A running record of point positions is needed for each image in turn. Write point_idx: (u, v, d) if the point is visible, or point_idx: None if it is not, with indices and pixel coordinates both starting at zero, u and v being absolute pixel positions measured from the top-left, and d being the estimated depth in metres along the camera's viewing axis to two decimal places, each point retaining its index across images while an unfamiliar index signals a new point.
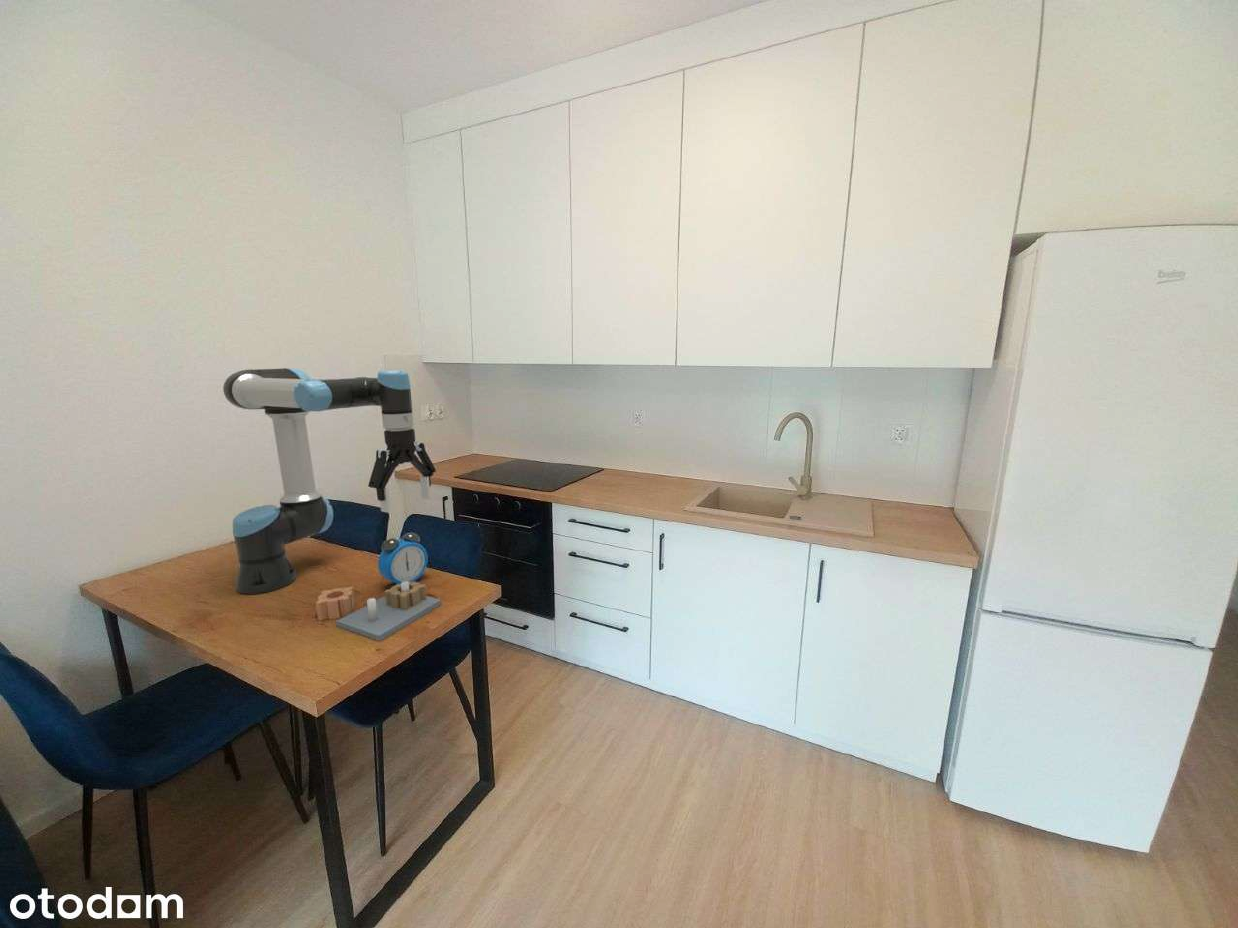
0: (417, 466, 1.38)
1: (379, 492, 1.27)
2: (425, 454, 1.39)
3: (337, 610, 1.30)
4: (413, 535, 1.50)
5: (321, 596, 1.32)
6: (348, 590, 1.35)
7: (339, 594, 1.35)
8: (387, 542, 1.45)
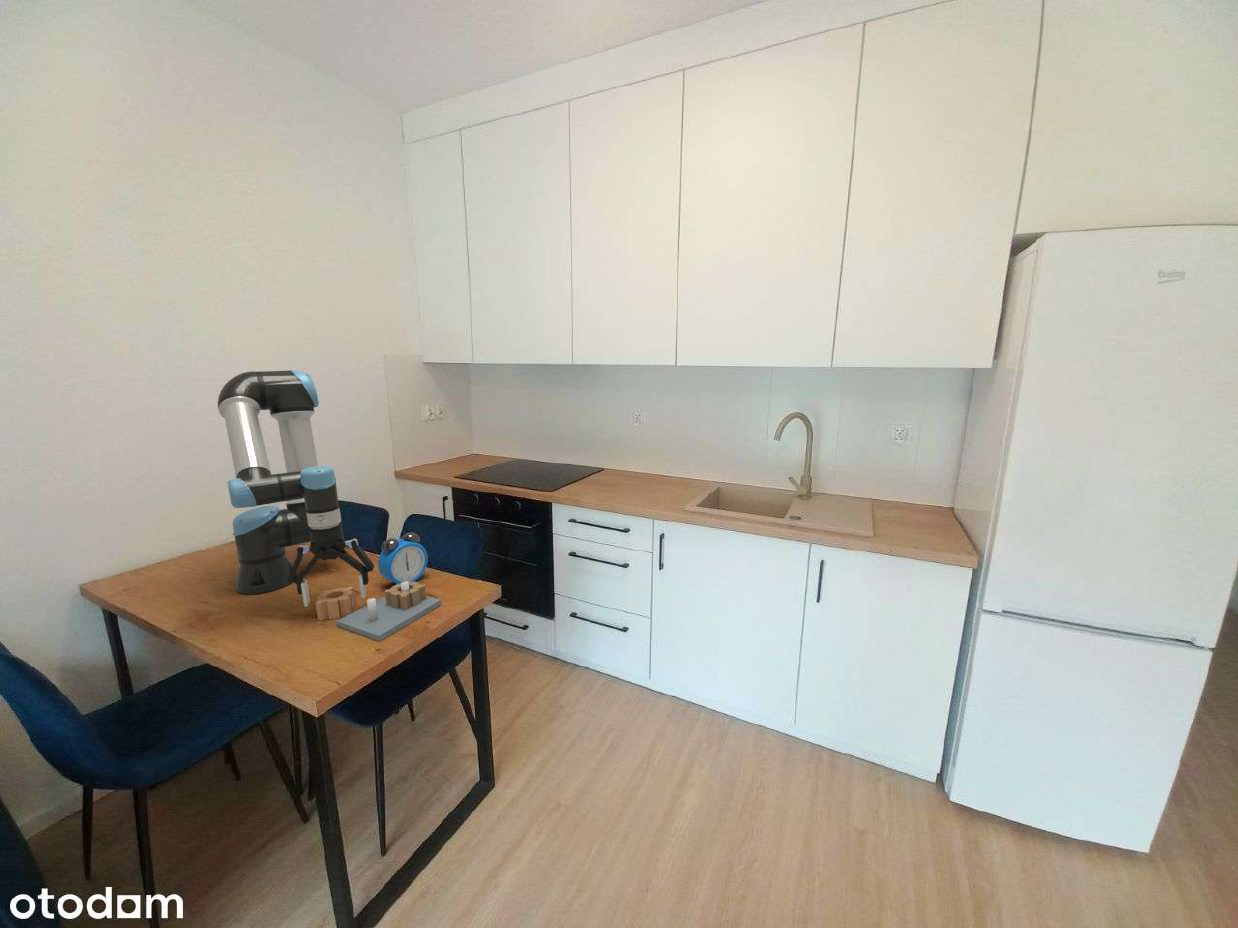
0: None
1: None
2: (357, 552, 1.31)
3: (337, 610, 1.30)
4: (413, 535, 1.50)
5: (321, 596, 1.32)
6: (348, 590, 1.35)
7: (339, 594, 1.35)
8: (387, 542, 1.45)
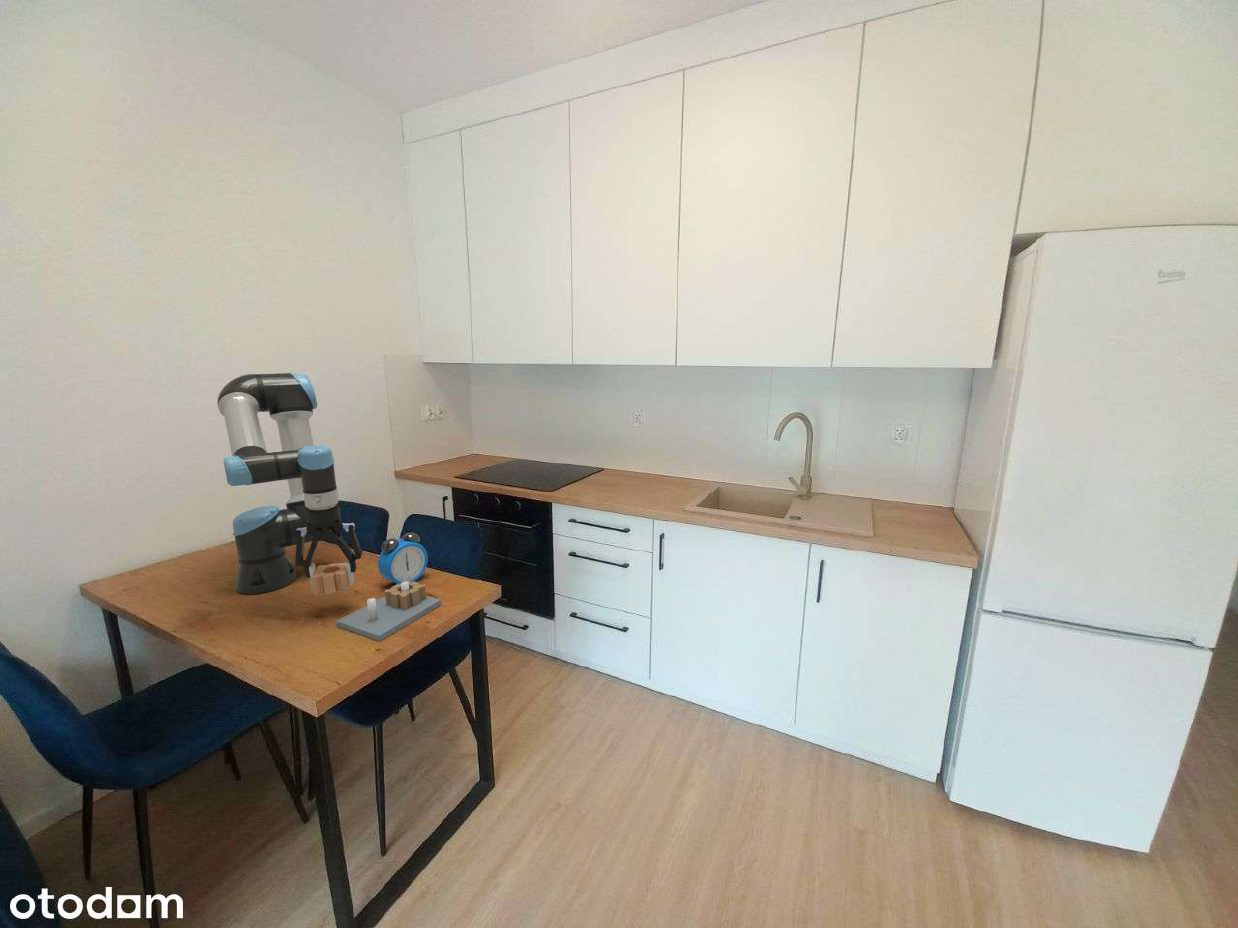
0: None
1: None
2: (351, 537, 1.31)
3: (333, 585, 1.29)
4: (413, 535, 1.50)
5: (317, 571, 1.31)
6: (344, 565, 1.34)
7: (335, 569, 1.34)
8: (387, 542, 1.45)
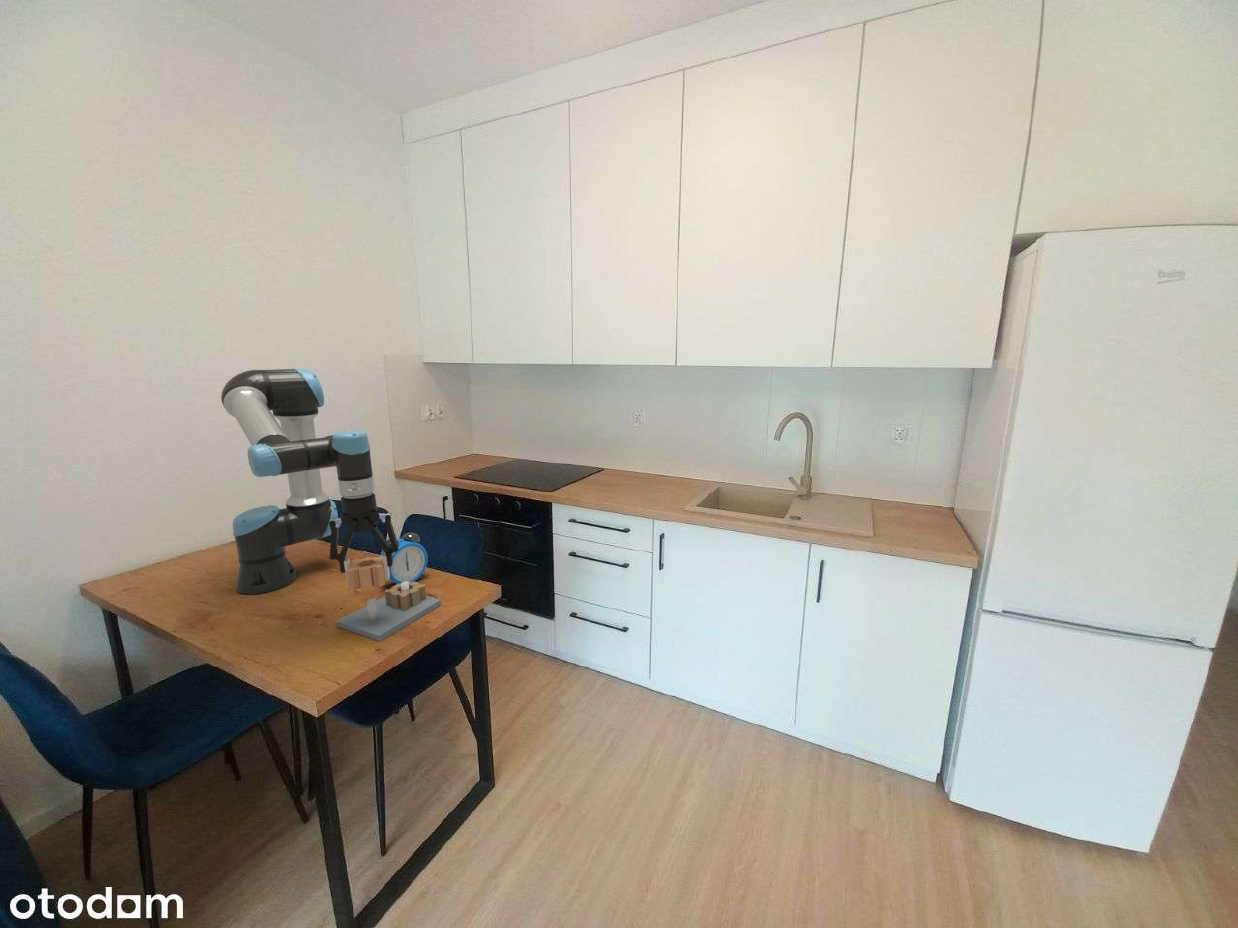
0: None
1: None
2: (388, 528, 1.23)
3: (370, 579, 1.21)
4: (413, 535, 1.50)
5: (352, 565, 1.23)
6: (380, 559, 1.26)
7: (370, 563, 1.26)
8: (387, 542, 1.45)
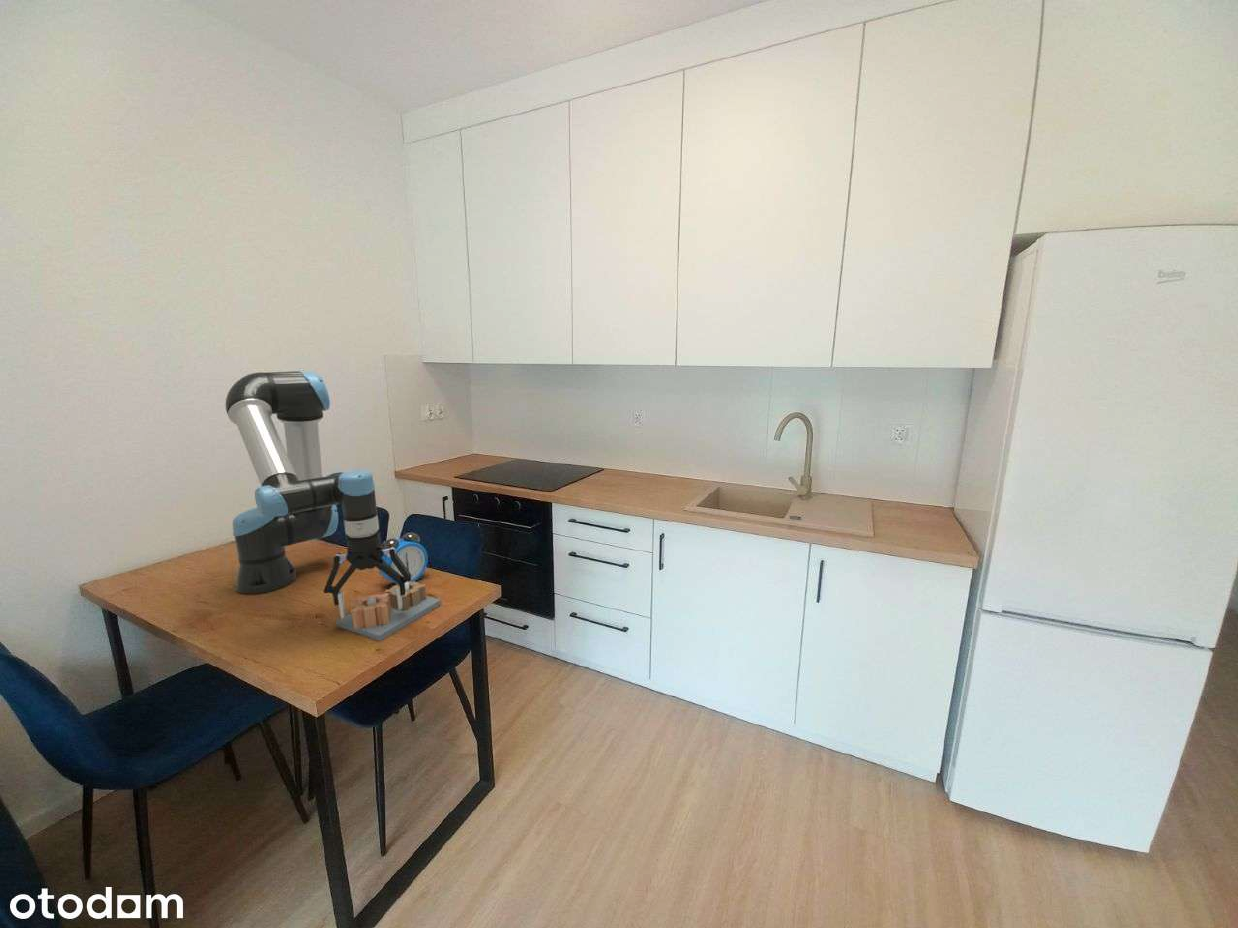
0: None
1: None
2: (395, 561, 1.25)
3: (374, 618, 1.23)
4: (413, 535, 1.50)
5: (356, 603, 1.25)
6: (384, 597, 1.28)
7: None
8: (387, 542, 1.45)
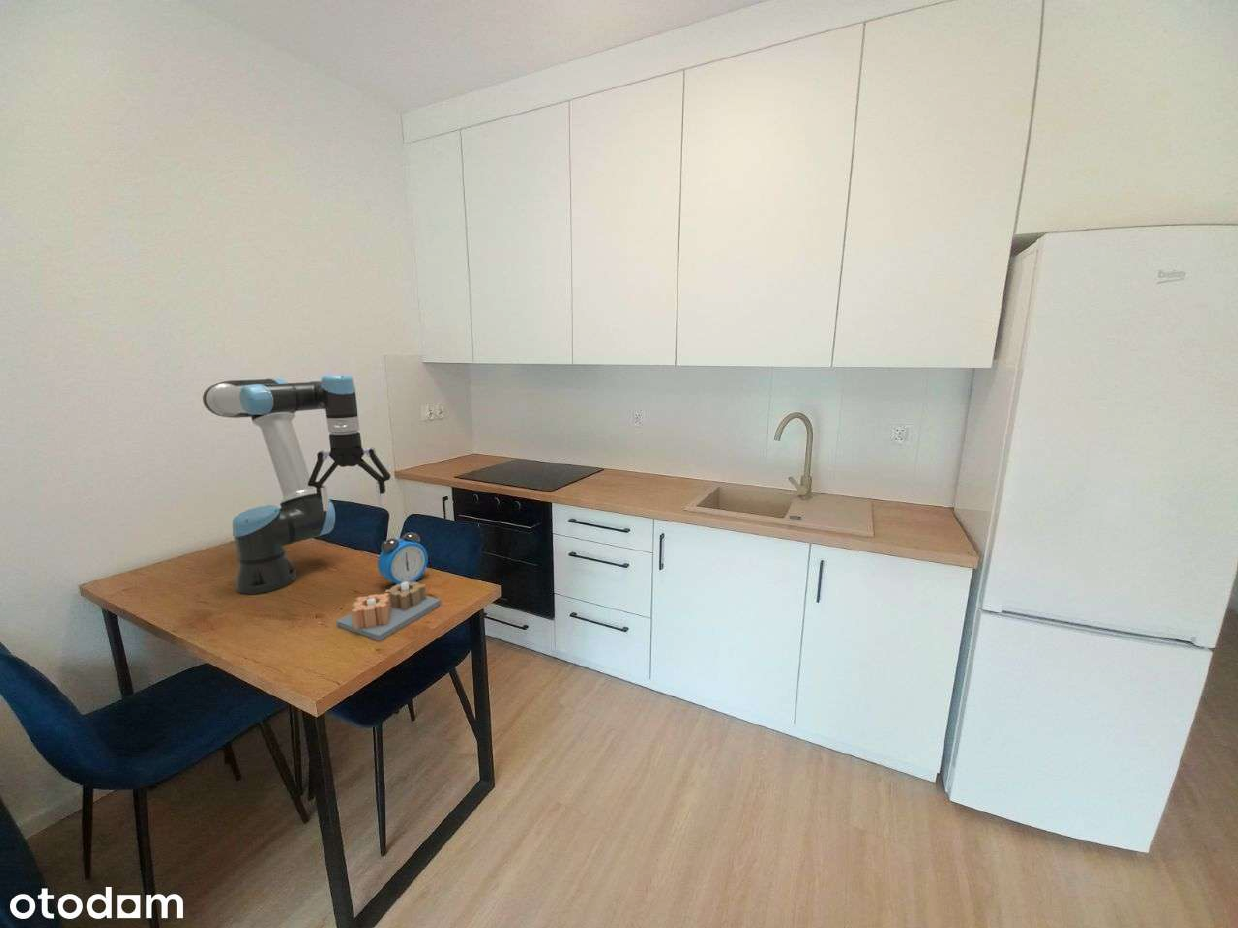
0: None
1: None
2: (375, 460, 1.36)
3: (374, 618, 1.23)
4: (413, 535, 1.50)
5: (356, 603, 1.25)
6: (384, 597, 1.28)
7: None
8: (387, 542, 1.45)
